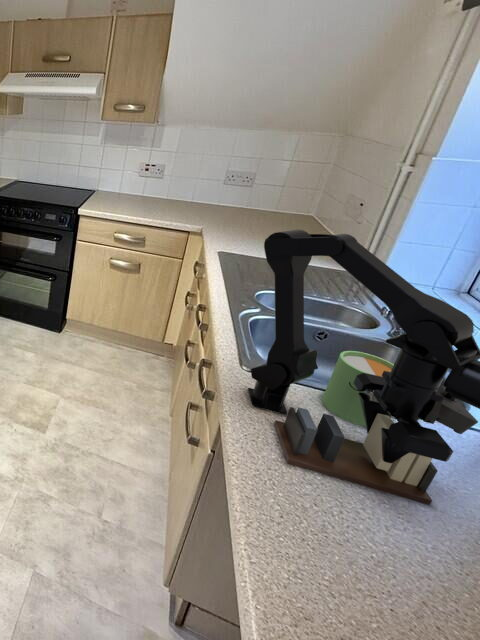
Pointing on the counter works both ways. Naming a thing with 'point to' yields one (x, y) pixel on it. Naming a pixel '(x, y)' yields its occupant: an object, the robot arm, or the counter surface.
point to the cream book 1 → (377, 441)
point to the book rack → (347, 463)
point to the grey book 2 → (329, 437)
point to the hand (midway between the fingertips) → (379, 449)
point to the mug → (351, 384)
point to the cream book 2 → (401, 467)
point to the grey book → (306, 429)
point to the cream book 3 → (417, 470)
